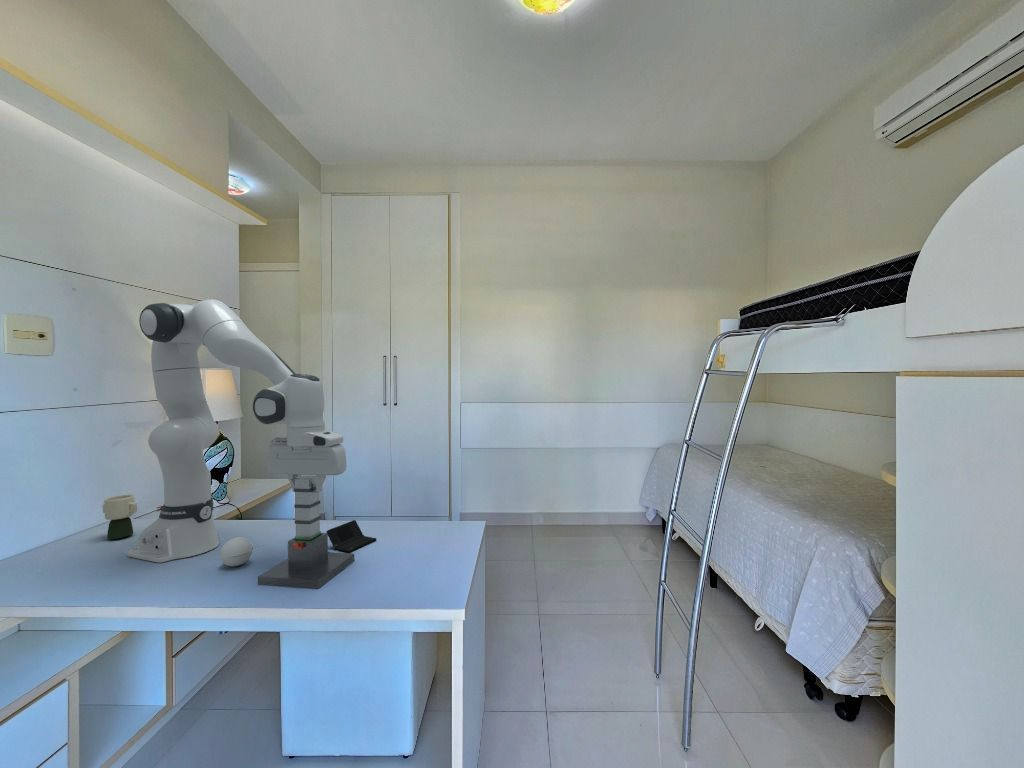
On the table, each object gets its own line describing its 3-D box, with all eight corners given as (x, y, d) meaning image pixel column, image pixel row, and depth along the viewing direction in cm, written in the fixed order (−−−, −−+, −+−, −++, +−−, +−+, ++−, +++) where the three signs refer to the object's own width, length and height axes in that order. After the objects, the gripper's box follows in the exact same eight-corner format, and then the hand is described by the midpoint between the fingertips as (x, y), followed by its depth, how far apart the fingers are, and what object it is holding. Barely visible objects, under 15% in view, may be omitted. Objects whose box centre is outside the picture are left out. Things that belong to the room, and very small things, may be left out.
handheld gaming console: (355, 548, 122) (339, 518, 125) (337, 562, 123) (322, 532, 126) (379, 540, 133) (364, 512, 136) (363, 553, 134) (348, 525, 137)
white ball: (217, 573, 111) (217, 545, 111) (223, 562, 117) (222, 535, 117) (262, 566, 115) (262, 538, 115) (265, 556, 122) (264, 530, 122)
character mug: (146, 533, 142) (145, 494, 142) (126, 541, 135) (125, 500, 135) (114, 533, 142) (113, 494, 142) (92, 541, 135) (91, 500, 135)
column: (295, 542, 109) (293, 479, 109) (306, 536, 113) (304, 475, 113) (310, 543, 108) (309, 479, 108) (320, 537, 112) (319, 475, 112)
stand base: (257, 584, 104) (256, 547, 104) (301, 557, 120) (300, 525, 120) (318, 589, 101) (317, 550, 101) (354, 560, 117) (353, 527, 117)
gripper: (260, 439, 109) (262, 493, 109) (335, 439, 106) (336, 496, 106) (278, 435, 115) (279, 487, 115) (349, 436, 112) (350, 489, 112)
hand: (307, 491), depth 111 cm, fingers closed on column, 4 cm apart
